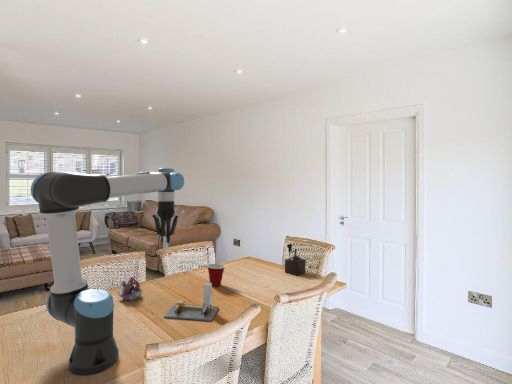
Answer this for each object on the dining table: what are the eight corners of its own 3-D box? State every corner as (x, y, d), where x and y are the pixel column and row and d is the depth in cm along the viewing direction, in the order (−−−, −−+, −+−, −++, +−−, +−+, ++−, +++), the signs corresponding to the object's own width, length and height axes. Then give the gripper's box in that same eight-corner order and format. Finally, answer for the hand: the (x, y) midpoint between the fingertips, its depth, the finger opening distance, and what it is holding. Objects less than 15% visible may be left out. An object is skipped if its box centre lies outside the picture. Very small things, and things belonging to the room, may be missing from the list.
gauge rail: (208, 316, 141) (209, 309, 141) (170, 313, 143) (170, 306, 143) (213, 308, 150) (213, 302, 150) (177, 305, 152) (177, 299, 152)
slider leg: (206, 315, 142) (207, 289, 141) (200, 315, 142) (200, 288, 141) (211, 307, 150) (212, 282, 150) (205, 307, 151) (206, 282, 150)
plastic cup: (228, 284, 185) (229, 264, 184) (215, 289, 176) (216, 269, 176) (215, 280, 192) (216, 261, 191) (202, 285, 183) (202, 265, 182)
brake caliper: (134, 299, 154) (122, 278, 156) (120, 309, 158) (109, 288, 160) (149, 291, 165) (138, 272, 167) (136, 301, 168) (125, 281, 170)
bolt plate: (211, 321, 138) (211, 319, 138) (163, 317, 141) (163, 315, 141) (218, 308, 152) (218, 306, 152) (175, 305, 155) (175, 303, 155)
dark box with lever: (306, 272, 212) (307, 246, 211) (296, 276, 204) (297, 249, 204) (288, 267, 223) (289, 242, 222) (278, 270, 215) (279, 245, 214)
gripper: (182, 200, 152) (181, 248, 154) (156, 199, 154) (155, 246, 155) (176, 201, 145) (175, 251, 146) (149, 200, 146) (149, 250, 148)
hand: (165, 249), depth 151 cm, fingers closed
